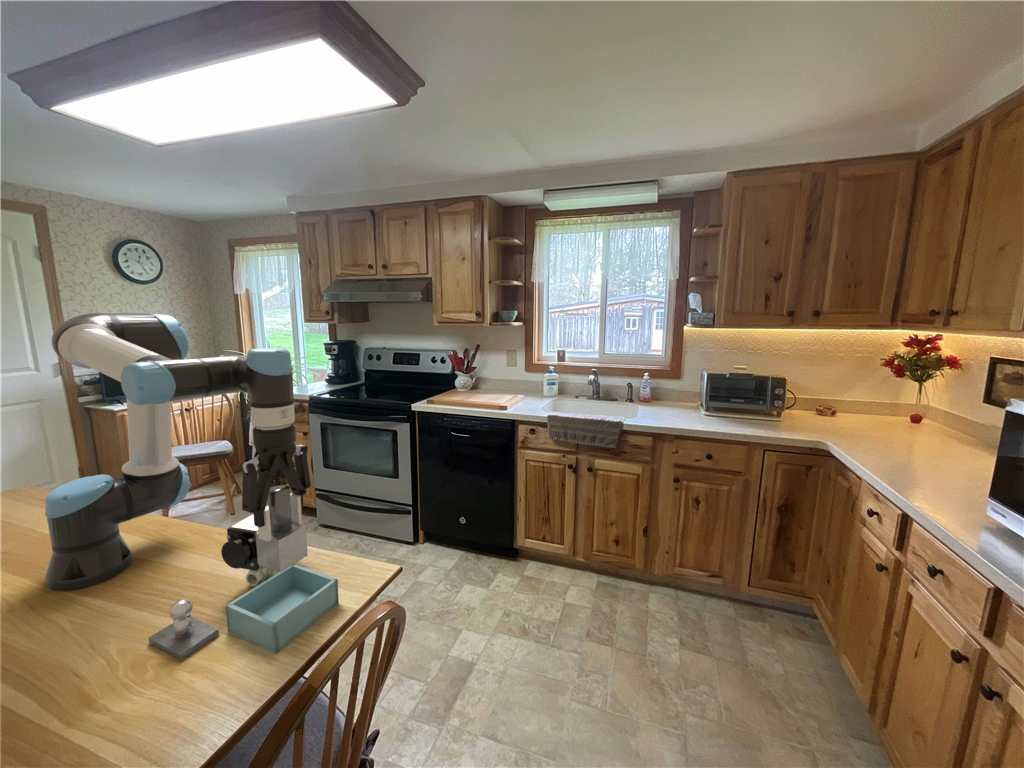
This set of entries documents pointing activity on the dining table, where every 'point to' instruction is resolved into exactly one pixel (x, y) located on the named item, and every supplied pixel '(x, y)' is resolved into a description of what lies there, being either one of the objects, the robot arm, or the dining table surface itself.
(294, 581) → the bin
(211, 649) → the dining table surface
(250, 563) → the ball valve
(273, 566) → the block with domed cylinder
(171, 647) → the stud plate
